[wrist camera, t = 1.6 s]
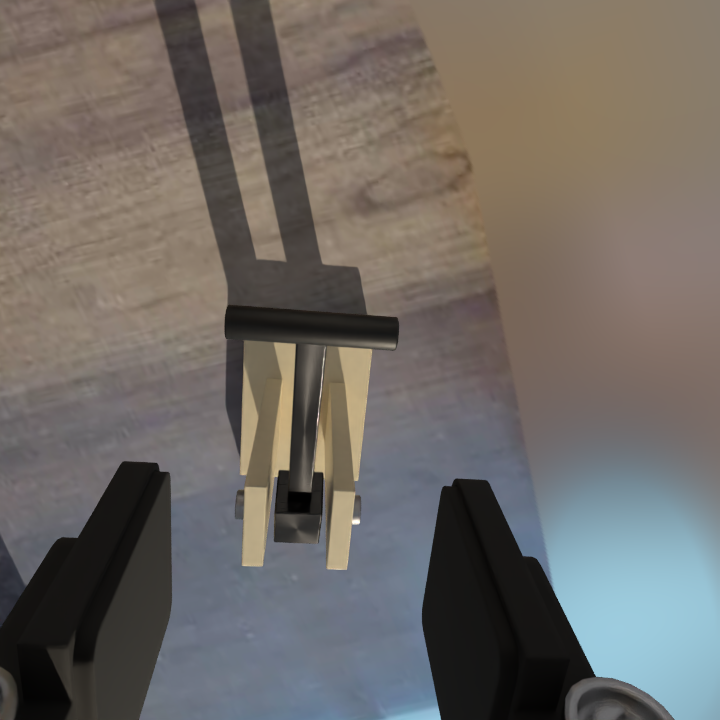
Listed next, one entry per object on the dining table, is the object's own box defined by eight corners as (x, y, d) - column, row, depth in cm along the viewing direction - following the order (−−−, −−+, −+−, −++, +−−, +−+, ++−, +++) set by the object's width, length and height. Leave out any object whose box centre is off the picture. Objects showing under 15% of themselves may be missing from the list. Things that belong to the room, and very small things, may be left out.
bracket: (246, 328, 40) (210, 427, 27) (371, 337, 41) (395, 438, 28) (241, 466, 43) (208, 612, 31) (357, 472, 44) (372, 617, 31)
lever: (230, 286, 22) (221, 332, 21) (397, 299, 23) (401, 345, 21) (240, 498, 32) (234, 541, 31) (356, 503, 33) (356, 546, 31)
